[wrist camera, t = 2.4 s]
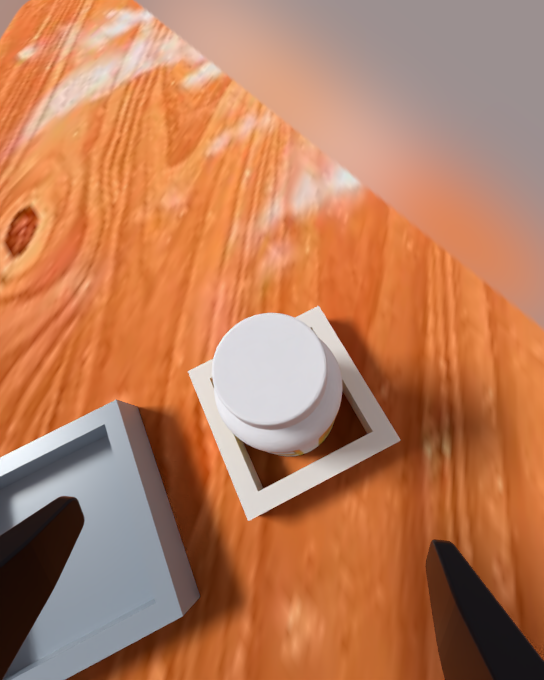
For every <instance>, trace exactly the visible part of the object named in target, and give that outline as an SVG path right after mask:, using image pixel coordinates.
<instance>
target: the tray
mask: <svg viewBox="0 0 544 680" xmlns="http://www.w3.org/2000/svg"><path fill="white" fill-rule="evenodd" d="M60 496H69V497H75V498H77V499H78V501H79V504H80V506H81V509H82V512H83V514H84V518H85V521H84V526H83V529H82V531H81V533H80V535H79V537H78V539H77V541H76V543H75V546H74V548H73V550H72V552H71V554H70V556H69V558H68V561H67V563H66V565H65V567H64V569H63V571H62V573H61V576H60V578H59V580H58V582H57V584H56V586H55V588H54V590H53V592H52V593H51V595H50V597H49V599H48V601H47V602H46V604H45V606H44V608H43V609H42V611H41V613H40V615H39V616H38V618H37V620H36V622H35V623H34V625H33V627H32V629H31V630H30V632H29V634H28V636H27V637H26V639H25V641H24V643H23V644H22V646H21V648H20V650H19V651H18V653H17V655H16V657H15V658H14V660H13V662H12V664H11V665H10V667H9V669H8V671H7V672H6V674H5V676H4V678H3V679H2V680H65V679H67V678H69V677H71V676H73V675H74V674H76V673H78V672H80V671H82V670H84V669H86V668H88V667H89V666H91V665H93V664H95V663H97V662H99V661H101V660H102V659H104V658H106V657H108V656H110V655H112V654H114V653H115V652H117V651H119V650H121V649H123V648H125V647H127V646H128V645H130V644H132V643H134V642H136V641H138V640H140V639H141V638H143V637H145V636H147V635H149V634H151V633H153V632H154V631H156V630H158V629H160V628H162V627H164V626H166V625H167V624H169V623H171V622H173V621H175V620H177V619H179V618H181V617H182V616H184V614H185V613H186V612H187V611H188V610H189V609H190V608H191V607H192V606H193V604H194V603H195V602H196V601H197V600H198V599H199V598H200V594H199V591H198V588H197V585H196V582H195V579H194V576H193V573H192V570H191V567H190V564H189V561H188V558H187V555H186V552H185V549H184V546H183V543H182V540H181V537H180V534H179V531H178V528H177V525H176V522H175V519H174V515H173V512H172V509H171V506H170V503H169V500H168V497H167V494H166V491H165V488H164V485H163V482H162V479H161V476H160V473H159V470H158V467H157V464H156V461H155V458H154V455H153V452H152V449H151V446H150V443H149V440H148V437H147V434H146V431H145V428H144V425H143V422H142V418H141V415H140V412H139V409H138V407H137V406H134V405H131V404H128V403H125V402H122V401H119V400H115V401H113V402H111V403H109V404H107V405H105V406H103V407H101V408H99V409H97V410H95V411H93V412H91V413H89V414H87V415H85V416H83V417H81V418H79V419H77V420H75V421H73V422H71V423H69V424H67V425H65V426H63V427H61V428H59V429H57V430H55V431H53V432H51V433H49V434H47V435H45V436H43V437H41V438H39V439H37V440H35V441H33V442H31V443H29V444H27V445H25V446H23V447H21V448H19V449H17V450H15V451H13V452H11V453H9V454H7V455H5V456H3V457H1V458H0V535H2V534H3V533H5V532H6V531H8V530H9V529H11V528H12V527H14V526H15V525H17V524H18V523H20V522H21V521H23V520H24V519H26V518H28V517H29V516H31V515H32V514H34V513H35V512H37V511H38V510H40V509H41V508H43V507H44V506H46V505H47V504H49V503H50V502H52V501H53V500H55V499H56V498H58V497H60Z"/></svg>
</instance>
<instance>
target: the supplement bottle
mask: <svg viewBox="0 0 544 680" xmlns="http://www.w3.org/2000/svg"><path fill="white" fill-rule="evenodd" d="M212 379H213V384H214V396H215V402H216V406H217V409H218V412H219V414H220V416H221V418H222V420H223V422H224V423H225V425H226V426H227V427H228V429H229V430H230V431H231V432H232V433H233V434H234V435H235V436H237V437H238V438H239V439H240V440H241V441H243V442H244V443H246V444H248V445H249V446H251V447H253V448H256V449H259V450H262V451H266V452H269V453H273V454H276V455H280V456H298V455H302V454H305V453H308V452H310V451H312V450H313V449H315V448H316V447H318V446H319V445H320V444H321V443H322V442H323V441H324V440H325V439H326V437H327V436H328V435H329V433H330V431H331V429H332V427H333V424H334V421H335V418H336V416H337V414H338V411H339V408H340V404H341V398H342V376H341V371H340V368H339V365H338V362H337V360H336V358H335V356H334V355H333V353H332V351H331V350H330V349H329V348H328V346H327V345H326V344H325V343H324V342H323V341H322V340H321V339H320V338H318V336H317V335H316V334H315V333H314V331H313V330H312V329H311V328H310V327H309V326H307V325H306V324H305V323H303V322H302V321H300V320H298V319H296V318H294V317H291V316H289V315H285V314H279V313H264V314H259V315H254V316H252V317H249V318H247V319H244V320H243V321H241V322H239V323H238V324H236V325H235V326H234V327H233V328H231V329H230V330H229V331H228V332H227V333H226V335H225V336H224V337H223V338H222V340H221V342H220V343H219V345H218V347H217V349H216V352H215V355H214V358H213V363H212Z"/></svg>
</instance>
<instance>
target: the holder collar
mask: <svg viewBox="0 0 544 680" xmlns="http://www.w3.org/2000/svg"><path fill="white" fill-rule="evenodd" d="M295 318H296V319H298V320H300V321H302V322H303V323H305V324H306V325H307V326H309V327H310V328H311V329H312V330H313V331H314V333H315V334H316V335H317V336H318V338H320V339H321V340H322V341H323V342H324V343H325V344H326V345H327V346H328V348H329V349H330V350H331V351H332V353H333V355H334V356H335V358H336V360H337V362H338V365H339V368H340V371H341V376H342V391H343V393H344V395H345V396H346V398H347V400H348V402H349V403H350V405H351V407H352V409H353V410H354V412H355V414H356V415H357V417H358V419H359V421H360V422H361V424H362V426H363V428H364V429H365V431H366V433H367V435H365V436H363V437H361V438H359V439H357V440H355V441H354V442H352V443H350V444H348V445H346V446H344V447H342V448H340V449H338V450H336V451H334V452H333V453H331V454H329V455H327V456H325V457H323V458H321V459H319V460H317V461H315V462H314V463H312V464H310V465H308V466H306V467H304V468H302V469H300V470H298V471H296V472H294V473H293V474H291V475H289V476H287V477H285V478H283V479H281V480H279V481H277V482H275V483H274V484H272V485H270V486H268V487H266V488H264V489H263V486H262V484H261V482H260V480H259V477H258V475H257V473H256V470H255V468H254V466H253V463H252V461H251V459H250V457H249V454H248V452H247V450H246V447H245V445H244V443H243V441H241V440H240V439H239V438H238V437H237V436H235V435H234V434H233V433H232V432H231V431H230V430H229V429H228V427H227V426H226V425H225V423H224V422H223V420H222V418H221V416H220V414H219V412H218V409H217V406H216V402H215V396H214V384H213V379H212V363H213V359H211V360H209V361H207V362H205V363H203V364H201V365H199V366H197V367H195V368H193V369H191V370H189V371H188V373H189V376H190V378H191V380H192V383H193V385H194V388H195V390H196V393H197V395H198V398H199V400H200V403H201V405H202V408H203V410H204V413H205V415H206V418H207V420H208V422H209V425H210V427H211V430H212V432H213V435H214V437H215V440H216V442H217V445H218V447H219V450H220V452H221V455H222V457H223V460H224V462H225V465H226V467H227V469H228V472H229V474H230V477H231V479H232V482H233V484H234V487H235V489H236V492H237V494H238V497H239V499H240V502H241V504H242V507H243V509H244V512H245V514H246V516H247V519H248V521H249V520H251V519H253V518H255V517H257V516H259V515H261V514H263V513H265V512H267V511H268V510H270V509H272V508H274V507H276V506H278V505H280V504H282V503H284V502H285V501H287V500H289V499H291V498H293V497H295V496H297V495H299V494H301V493H302V492H304V491H306V490H308V489H310V488H312V487H314V486H316V485H318V484H320V483H321V482H323V481H325V480H327V479H329V478H331V477H333V476H335V475H337V474H338V473H340V472H342V471H344V470H346V469H348V468H350V467H352V466H354V465H355V464H357V463H359V462H361V461H363V460H365V459H367V458H369V457H371V456H373V455H374V454H376V453H378V452H380V451H382V450H384V449H386V448H388V447H390V446H391V445H393V444H395V443H397V442H399V441H401V440H400V438H399V436H398V435H397V433H396V432H395V430H394V428H393V427H392V425H391V423H390V422H389V420H388V418H387V417H386V415H385V413H384V412H383V410H382V409H381V407H380V405H379V404H378V402H377V400H376V399H375V397H374V395H373V394H372V392H371V391H370V389H369V387H368V386H367V384H366V382H365V381H364V379H363V377H362V376H361V374H360V373H359V371H358V369H357V368H356V366H355V364H354V363H353V361H352V359H351V358H350V356H349V355H348V353H347V351H346V350H345V348H344V346H343V345H342V343H341V341H340V340H339V338H338V336H337V335H336V333H335V332H334V330H333V328H332V327H331V325H330V323H329V322H328V320H327V318H326V317H325V315H324V314H323V312H322V310H321V309H320V307H319V306H317V307H315V308H313V309H311V310H309V311H307V312H305V313H303V314H301V315H299V316H297V317H295Z"/></svg>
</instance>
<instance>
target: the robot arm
mask: <svg viewBox="0 0 544 680" xmlns="http://www.w3.org/2000/svg"><path fill="white" fill-rule="evenodd" d="M84 521H85V518H84V514H83V512H82V509H81V506H80V504H79V501H78V499H77V498H75V497H69V496H60V497H58V498H56V499H55V500H53V501H52V502H50V503H49V504H47V505H46V506H44V507H43V508H41V509H40V510H38V511H37V512H35V513H34V514H32V515H31V516H29V517H28V518H26V519H24V520H23V521H21V522H20V523H18V524H17V525H15V526H14V527H12V528H11V529H9V530H8V531H6V532H5V533H3V534H2V535H0V680H2V679H3V678H4V676H5V674H6V672H7V671H8V669H9V667H10V665H11V664H12V662H13V660H14V658H15V657H16V655H17V653H18V651H19V650H20V648H21V646H22V644H23V643H24V641H25V639H26V637H27V636H28V634H29V632H30V630H31V629H32V627H33V625H34V623H35V622H36V620H37V618H38V616H39V615H40V613H41V611H42V609H43V608H44V606H45V604H46V602H47V601H48V599H49V597H50V595H51V593H52V592H53V590H54V588H55V586H56V584H57V582H58V580H59V578H60V576H61V573H62V571H63V569H64V567H65V565H66V563H67V561H68V558H69V556H70V554H71V552H72V550H73V548H74V546H75V543H76V541H77V539H78V537H79V535H80V533H81V531H82V529H83V526H84ZM426 575H427V581H428V588H429V594H430V601H431V607H432V614H433V621H434V627H435V634H436V640H437V646H438V652H439V656H440V661H441V665H442V669H443V673H444V677H445V680H544V661H543V659H542V658H541V657H540V655H539V654H538V653H537V652H536V650H535V649H534V648H533V646H532V645H531V644H530V643H529V641H528V640H527V639H526V637H525V636H524V635H523V633H522V632H521V631H520V630H519V628H518V627H517V626H516V624H515V623H514V622H513V620H512V619H511V618H510V617H509V615H508V614H507V613H506V611H505V610H504V609H503V608H502V606H501V605H500V604H499V602H498V601H497V600H496V598H495V597H494V596H493V595H492V593H491V592H490V591H489V589H488V588H487V587H486V585H485V584H484V583H483V582H482V580H481V579H480V578H479V576H478V575H477V574H476V573H475V571H474V570H473V569H472V567H471V566H470V565H469V563H468V562H467V561H466V560H465V558H464V557H463V556H462V554H461V553H460V552H459V550H458V549H457V548H456V547H455V545H454V544H453V543H451V542H450V541H444V540H436V539H435V540H432V542H431V544H430V548H429V552H428V555H427V559H426Z"/></svg>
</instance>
